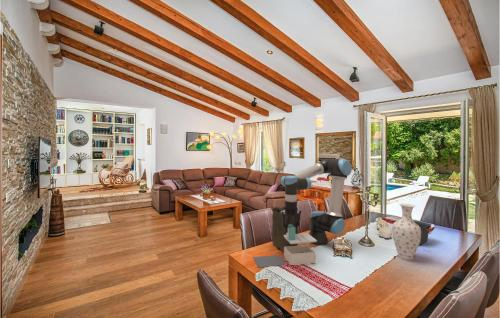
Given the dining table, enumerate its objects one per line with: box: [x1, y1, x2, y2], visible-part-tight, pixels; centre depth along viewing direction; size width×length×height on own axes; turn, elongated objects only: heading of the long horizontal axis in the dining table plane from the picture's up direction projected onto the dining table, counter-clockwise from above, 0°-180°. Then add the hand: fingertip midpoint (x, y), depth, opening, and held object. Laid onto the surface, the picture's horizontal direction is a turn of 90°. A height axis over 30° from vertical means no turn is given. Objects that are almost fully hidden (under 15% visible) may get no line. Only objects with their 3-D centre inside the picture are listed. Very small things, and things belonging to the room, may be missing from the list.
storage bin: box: [413, 220, 433, 246], centre depth 186 cm, size 21×16×14 cm
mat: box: [252, 254, 286, 269], centre depth 152 cm, size 18×14×1 cm
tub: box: [283, 244, 316, 266], centre depth 154 cm, size 16×12×7 cm
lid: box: [284, 224, 317, 244], centre depth 154 cm, size 17×13×9 cm
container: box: [271, 205, 299, 254], centre depth 173 cm, size 23×10×30 cm, turn 22°
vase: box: [391, 203, 421, 261], centre depth 159 cm, size 16×16×35 cm
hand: (290, 237), depth 153 cm, fingers closed on lid, 3 cm apart
